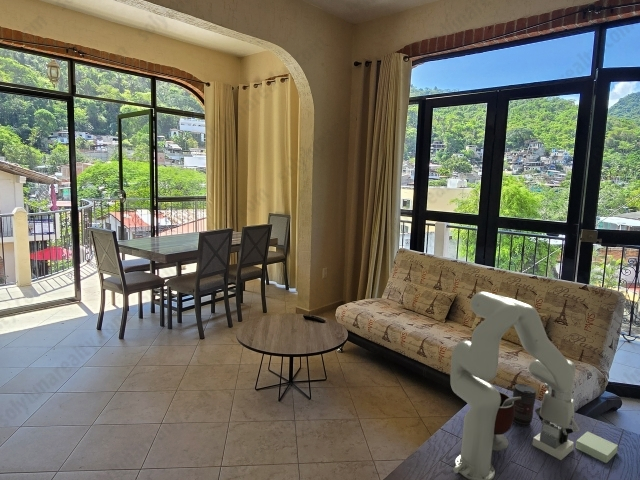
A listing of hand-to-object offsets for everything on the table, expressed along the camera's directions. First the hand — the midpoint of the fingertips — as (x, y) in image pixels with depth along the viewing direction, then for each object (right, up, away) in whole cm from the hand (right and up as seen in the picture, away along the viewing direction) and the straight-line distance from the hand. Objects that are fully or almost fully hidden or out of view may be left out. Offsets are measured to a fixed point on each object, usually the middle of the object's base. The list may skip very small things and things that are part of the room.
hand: (553, 437), depth 151 cm
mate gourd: (-21, -3, +4) cm, 22 cm away
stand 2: (+15, -5, 0) cm, 16 cm away
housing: (0, -1, 0) cm, 1 cm away
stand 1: (0, -4, +1) cm, 4 cm away
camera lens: (-4, -2, +16) cm, 17 cm away
